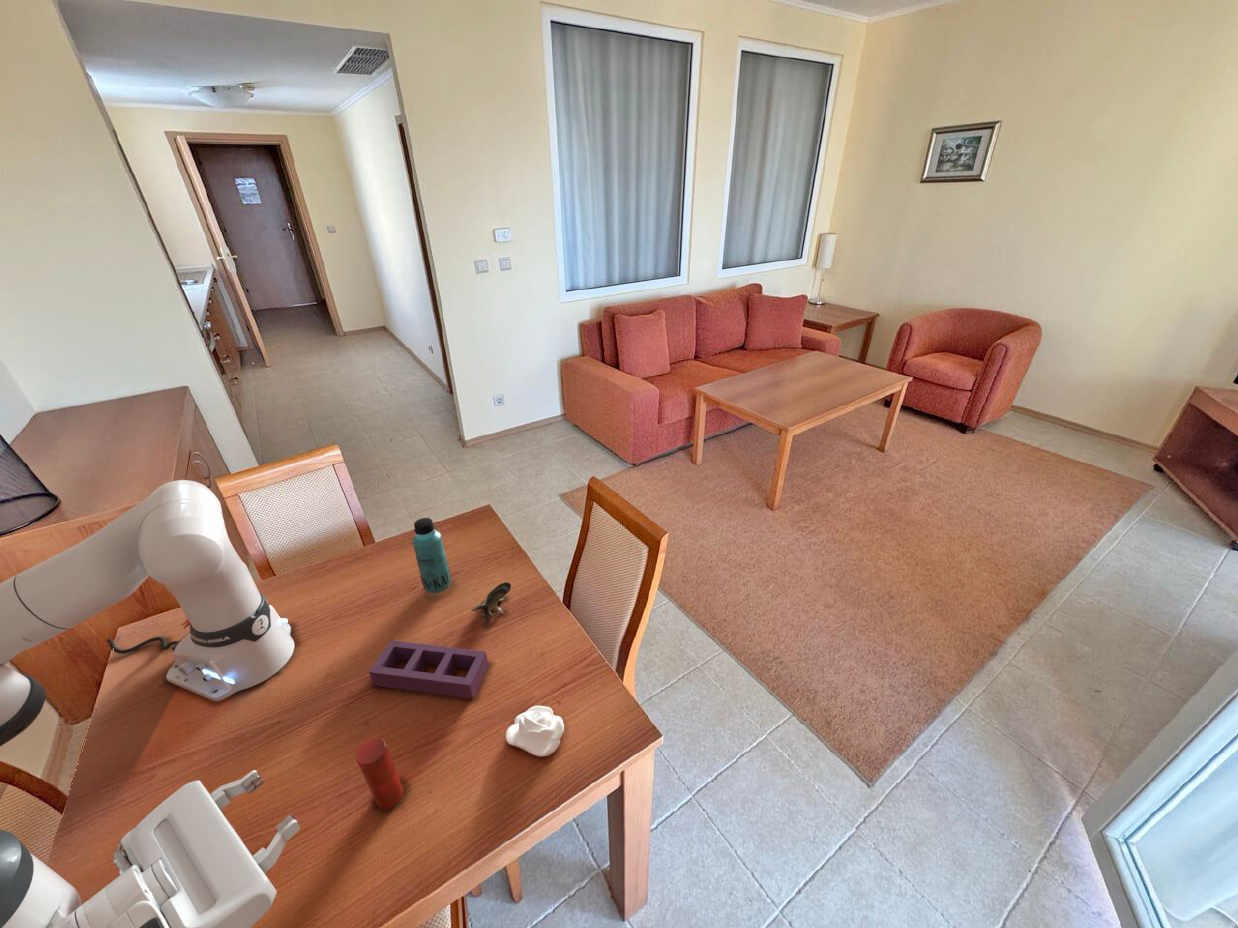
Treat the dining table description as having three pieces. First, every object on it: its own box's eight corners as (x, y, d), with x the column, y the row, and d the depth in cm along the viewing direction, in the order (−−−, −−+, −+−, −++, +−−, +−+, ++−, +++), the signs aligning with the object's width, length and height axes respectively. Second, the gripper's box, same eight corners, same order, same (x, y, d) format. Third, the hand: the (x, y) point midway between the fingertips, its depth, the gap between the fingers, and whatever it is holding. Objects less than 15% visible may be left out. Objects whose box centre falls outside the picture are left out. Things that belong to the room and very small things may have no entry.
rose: (508, 755, 80) (499, 704, 88) (511, 771, 82) (502, 720, 90) (568, 734, 82) (554, 687, 90) (570, 750, 85) (556, 702, 93)
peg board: (373, 685, 96) (368, 671, 94) (395, 653, 103) (391, 639, 101) (473, 699, 93) (469, 685, 92) (488, 665, 100) (485, 651, 98)
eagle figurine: (510, 623, 108) (519, 589, 115) (487, 606, 105) (498, 572, 112) (485, 632, 112) (496, 598, 118) (462, 615, 108) (475, 582, 115)
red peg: (371, 806, 77) (350, 762, 71) (385, 780, 81) (366, 735, 75) (394, 811, 77) (375, 766, 71) (408, 784, 80) (390, 739, 74)
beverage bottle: (425, 583, 121) (407, 516, 112) (453, 577, 123) (438, 511, 113) (424, 601, 116) (405, 532, 106) (453, 595, 118) (437, 527, 108)
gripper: (121, 862, 59) (249, 764, 69) (188, 1000, 49) (327, 862, 59) (93, 835, 56) (231, 737, 66) (158, 976, 46) (310, 835, 56)
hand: (277, 797), depth 62 cm, fingers open, 8 cm apart
